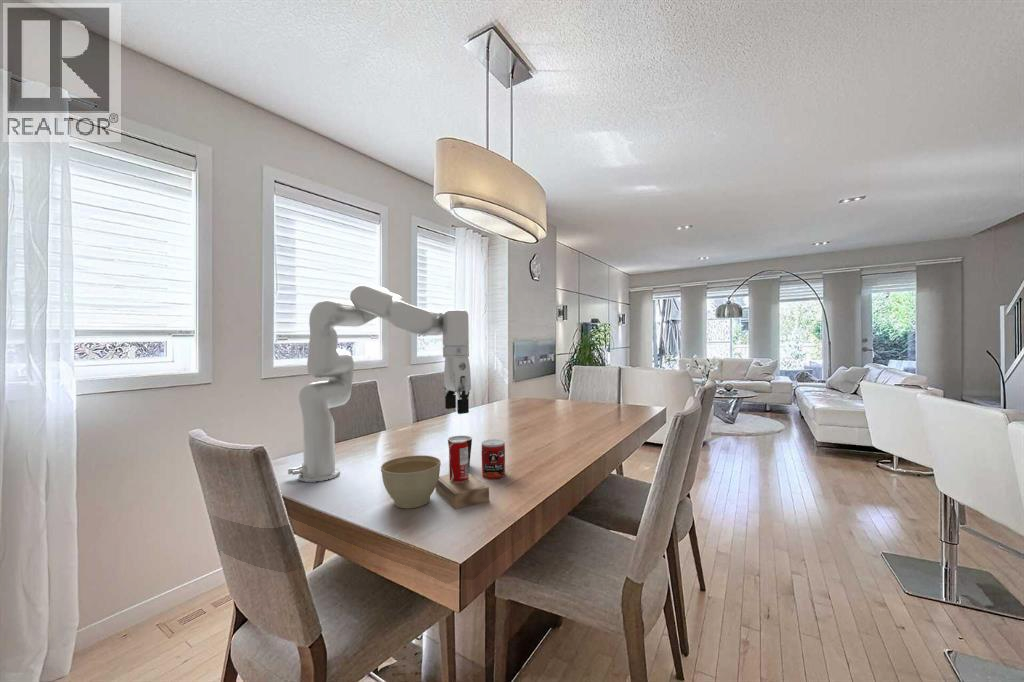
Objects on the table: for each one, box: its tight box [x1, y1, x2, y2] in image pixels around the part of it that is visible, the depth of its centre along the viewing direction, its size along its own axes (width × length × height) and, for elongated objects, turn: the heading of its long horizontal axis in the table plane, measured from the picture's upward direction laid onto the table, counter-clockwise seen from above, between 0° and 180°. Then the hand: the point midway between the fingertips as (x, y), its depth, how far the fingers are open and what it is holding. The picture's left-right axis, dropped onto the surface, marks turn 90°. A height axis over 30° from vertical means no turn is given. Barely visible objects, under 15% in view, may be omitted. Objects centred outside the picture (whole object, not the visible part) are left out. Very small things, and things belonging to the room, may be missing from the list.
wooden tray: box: [435, 473, 490, 510], centre depth 119 cm, size 10×16×4 cm, turn 29°
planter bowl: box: [380, 454, 442, 509], centre depth 115 cm, size 16×16×11 cm
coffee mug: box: [447, 435, 473, 468], centre depth 148 cm, size 12×9×10 cm
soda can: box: [448, 438, 470, 483], centre depth 120 cm, size 6×6×12 cm
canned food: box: [481, 438, 506, 480], centre depth 137 cm, size 8×8×11 cm
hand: (456, 410), depth 120 cm, fingers open, 9 cm apart
